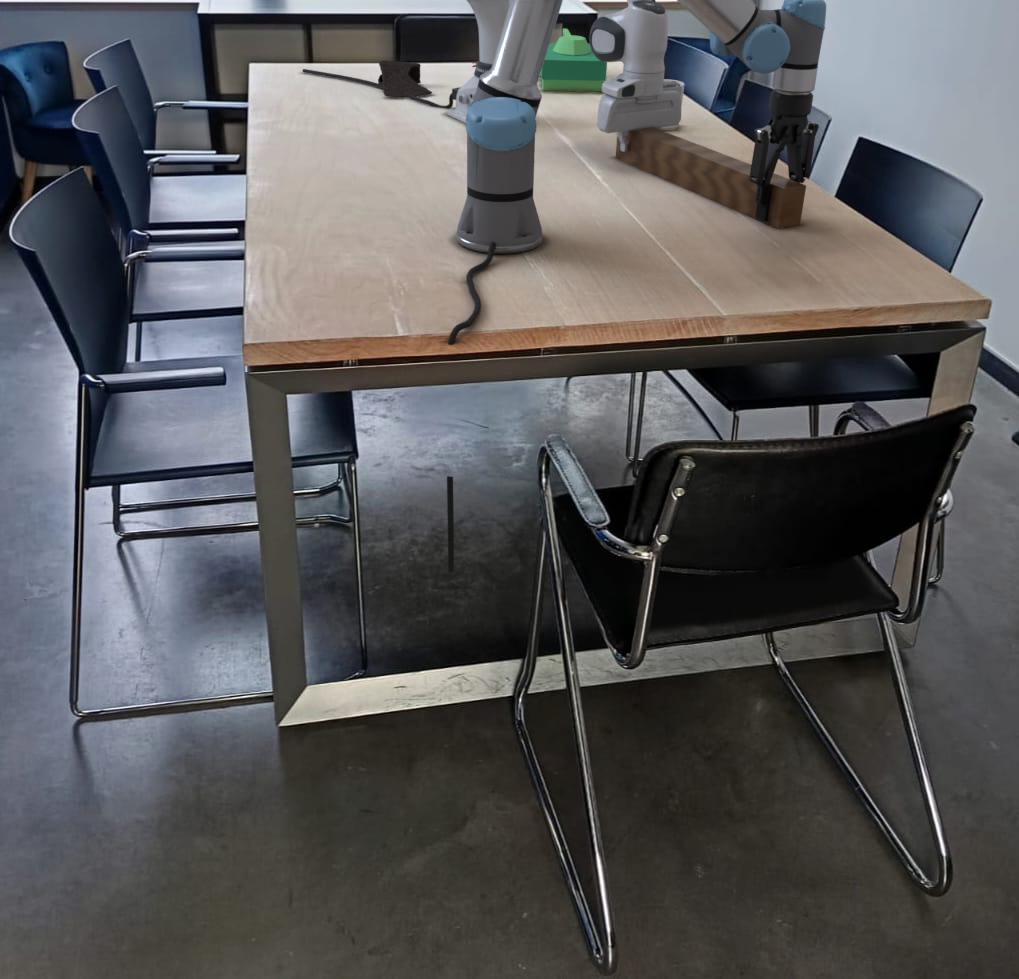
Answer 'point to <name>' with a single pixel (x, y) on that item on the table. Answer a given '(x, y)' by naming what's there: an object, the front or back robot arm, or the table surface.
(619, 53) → the back robot arm
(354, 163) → the table surface
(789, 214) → the post
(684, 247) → the table surface
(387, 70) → the axe head
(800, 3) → the front robot arm
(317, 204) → the table surface
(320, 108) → the table surface
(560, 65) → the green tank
